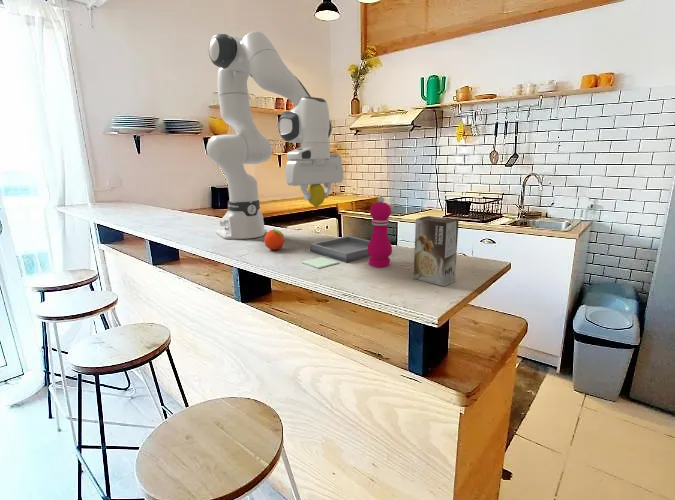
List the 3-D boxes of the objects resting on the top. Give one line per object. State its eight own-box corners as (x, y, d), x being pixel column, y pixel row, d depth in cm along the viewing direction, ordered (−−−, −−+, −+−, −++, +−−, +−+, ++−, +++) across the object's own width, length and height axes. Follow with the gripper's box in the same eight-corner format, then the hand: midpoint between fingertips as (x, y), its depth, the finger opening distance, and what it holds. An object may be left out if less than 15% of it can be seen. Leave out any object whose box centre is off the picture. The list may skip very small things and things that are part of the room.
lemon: (325, 208, 116) (324, 182, 114) (307, 209, 116) (306, 182, 114) (325, 206, 121) (324, 181, 119) (308, 206, 121) (307, 181, 119)
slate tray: (309, 251, 127) (309, 243, 126) (348, 243, 138) (348, 235, 137) (346, 262, 114) (346, 254, 113) (385, 252, 125) (385, 244, 124)
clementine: (291, 249, 129) (290, 229, 127) (275, 253, 124) (273, 232, 122) (276, 246, 134) (275, 226, 133) (260, 249, 129) (259, 229, 128)
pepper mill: (373, 259, 116) (374, 194, 111) (395, 263, 113) (397, 196, 108) (363, 265, 110) (363, 197, 105) (385, 269, 107) (387, 198, 102)
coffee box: (456, 280, 97) (460, 219, 93) (443, 287, 92) (447, 222, 88) (425, 273, 103) (428, 215, 99) (411, 278, 99) (414, 218, 95)
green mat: (301, 262, 114) (301, 261, 113) (322, 257, 119) (322, 256, 119) (318, 268, 108) (318, 267, 108) (339, 263, 113) (339, 262, 113)
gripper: (334, 153, 123) (334, 195, 127) (281, 153, 110) (283, 200, 114) (347, 152, 119) (347, 196, 122) (294, 153, 106) (295, 202, 109)
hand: (316, 198), depth 118 cm, fingers closed on lemon, 5 cm apart
